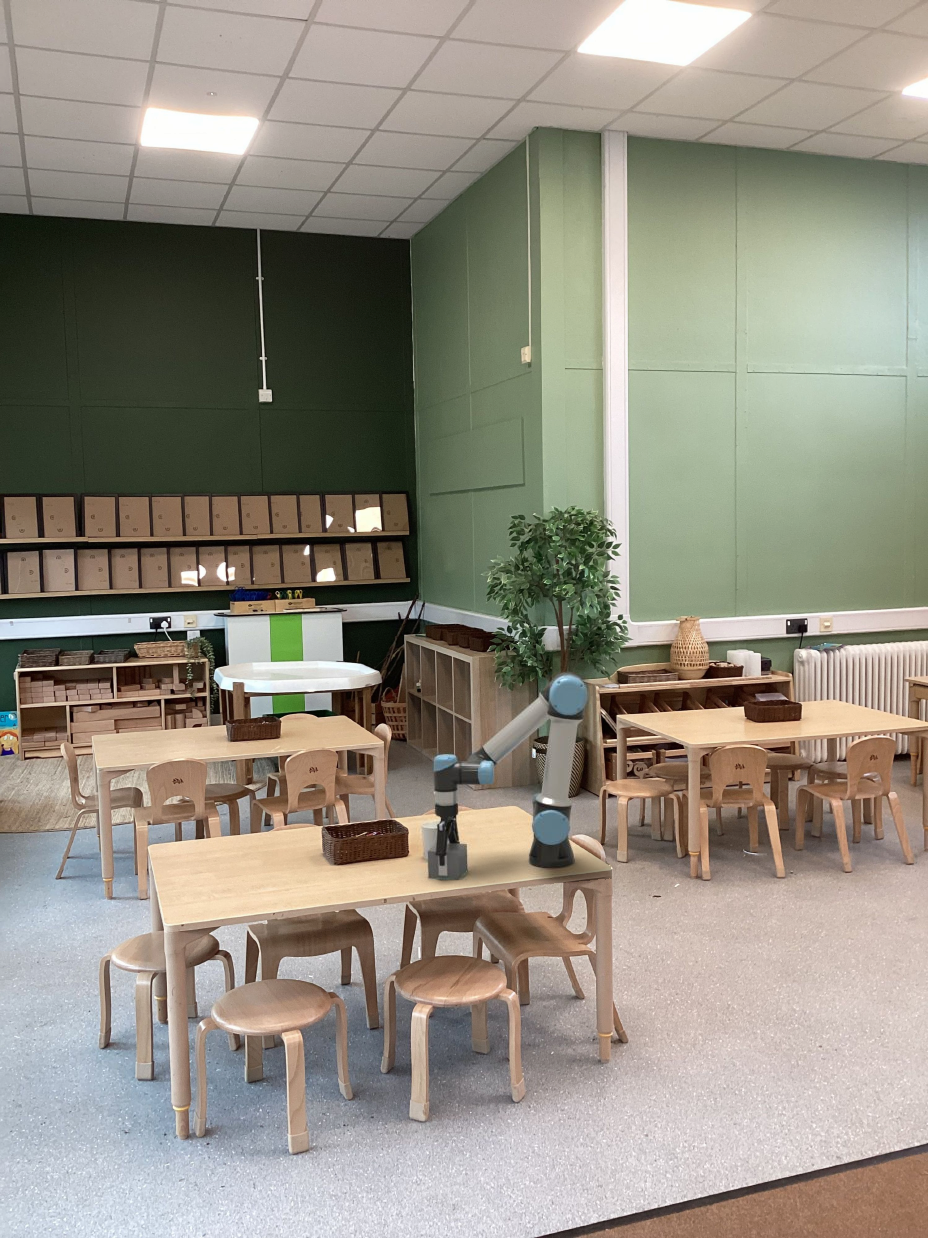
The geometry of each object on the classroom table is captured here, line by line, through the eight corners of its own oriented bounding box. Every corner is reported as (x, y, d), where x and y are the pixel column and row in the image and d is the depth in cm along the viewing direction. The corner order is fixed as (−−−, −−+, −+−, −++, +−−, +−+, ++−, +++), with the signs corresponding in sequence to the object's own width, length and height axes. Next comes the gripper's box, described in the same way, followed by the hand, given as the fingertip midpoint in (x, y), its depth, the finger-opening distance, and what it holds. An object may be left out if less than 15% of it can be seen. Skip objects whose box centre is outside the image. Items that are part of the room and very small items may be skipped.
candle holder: (447, 863, 362) (446, 828, 361) (419, 862, 364) (418, 827, 363) (453, 855, 372) (452, 820, 371) (426, 854, 374) (425, 820, 373)
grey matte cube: (467, 870, 353) (466, 844, 353) (458, 880, 344) (458, 852, 343) (437, 868, 356) (437, 842, 356) (428, 878, 347) (427, 851, 346)
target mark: (471, 869, 354) (471, 869, 354) (461, 881, 343) (461, 880, 343) (436, 867, 357) (436, 867, 357) (425, 878, 346) (425, 878, 346)
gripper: (445, 794, 361) (447, 859, 362) (424, 811, 338) (426, 880, 340) (467, 795, 358) (469, 860, 360) (447, 812, 336) (449, 881, 338)
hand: (448, 870), depth 350 cm, fingers open, 11 cm apart
